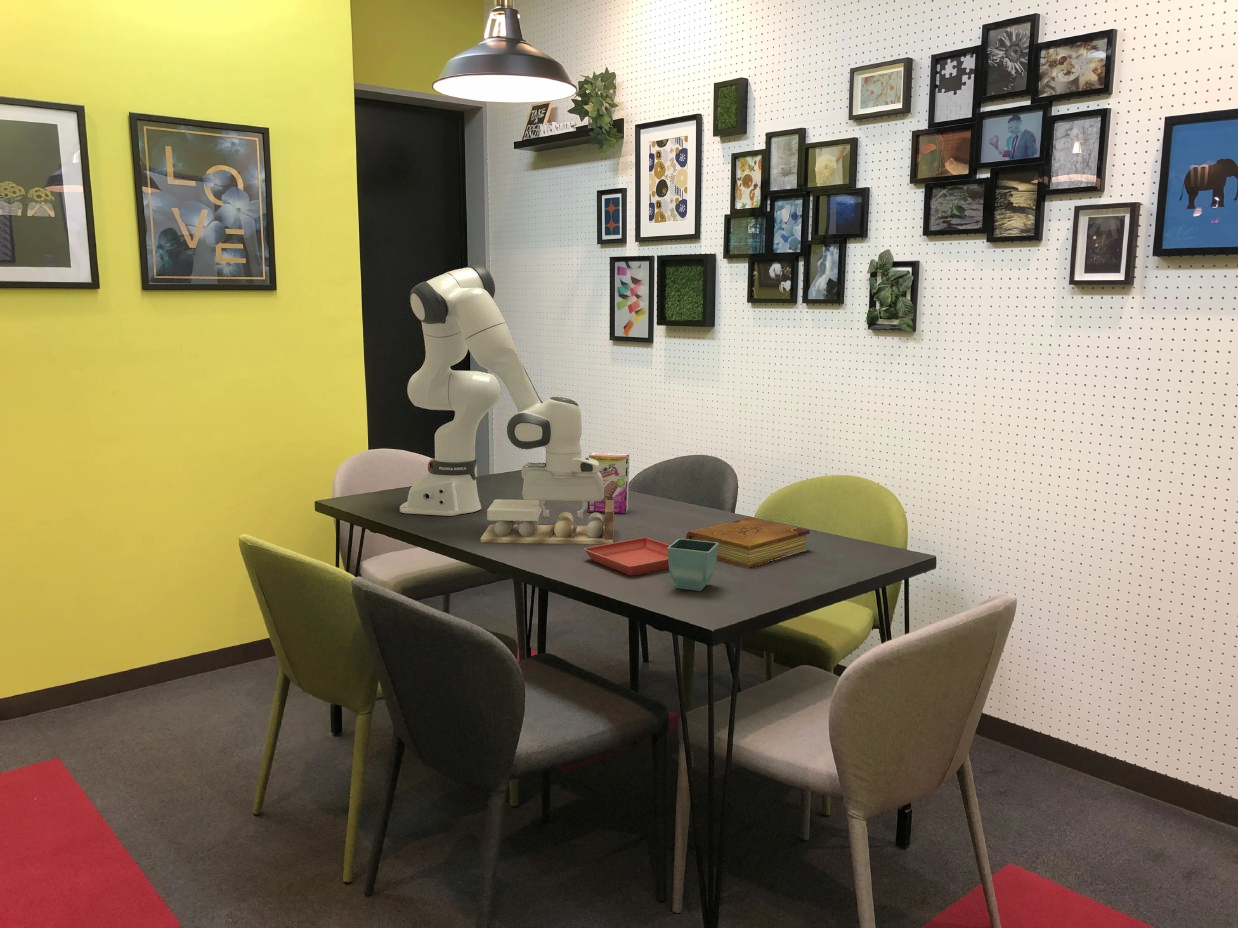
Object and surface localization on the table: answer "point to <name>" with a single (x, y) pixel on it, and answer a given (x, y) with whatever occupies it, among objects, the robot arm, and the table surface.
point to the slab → (514, 510)
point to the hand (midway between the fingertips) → (563, 517)
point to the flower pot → (692, 563)
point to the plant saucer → (632, 555)
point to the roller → (563, 525)
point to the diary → (752, 540)
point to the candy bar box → (612, 481)
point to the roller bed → (545, 533)
